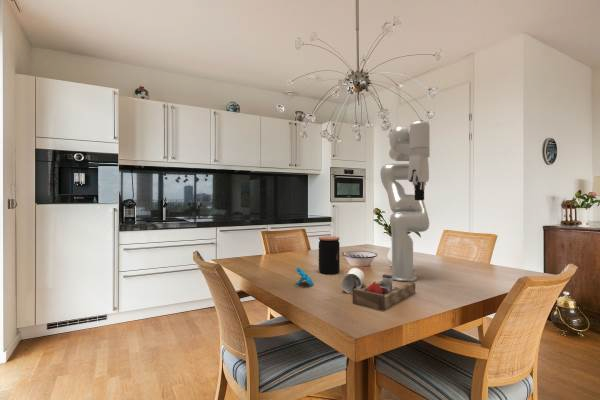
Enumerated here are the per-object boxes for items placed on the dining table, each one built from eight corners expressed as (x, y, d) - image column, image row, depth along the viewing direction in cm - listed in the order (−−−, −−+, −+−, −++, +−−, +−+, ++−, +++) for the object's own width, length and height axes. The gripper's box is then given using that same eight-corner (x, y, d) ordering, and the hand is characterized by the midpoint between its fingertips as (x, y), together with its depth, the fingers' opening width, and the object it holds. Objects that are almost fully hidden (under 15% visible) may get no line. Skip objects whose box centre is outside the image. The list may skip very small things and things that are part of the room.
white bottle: (366, 283, 147) (366, 265, 147) (361, 294, 129) (361, 274, 129) (349, 281, 149) (349, 264, 149) (341, 292, 131) (341, 273, 131)
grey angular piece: (386, 291, 133) (386, 271, 133) (403, 294, 128) (403, 273, 128) (369, 298, 123) (369, 277, 123) (387, 302, 118) (387, 280, 118)
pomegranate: (364, 301, 120) (364, 279, 120) (379, 300, 121) (379, 278, 121) (369, 306, 115) (369, 283, 115) (385, 305, 115) (385, 282, 115)
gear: (312, 284, 138) (296, 267, 140) (302, 294, 138) (286, 276, 140) (316, 281, 148) (301, 265, 151) (307, 290, 149) (292, 274, 151)
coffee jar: (340, 274, 163) (340, 238, 163) (319, 274, 163) (319, 238, 163) (338, 270, 173) (338, 236, 173) (318, 270, 173) (318, 236, 173)
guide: (388, 287, 139) (388, 275, 139) (415, 292, 131) (415, 280, 131) (352, 303, 118) (352, 289, 118) (382, 310, 110) (382, 295, 110)
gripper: (417, 156, 137) (417, 200, 137) (402, 152, 126) (402, 200, 126) (435, 154, 132) (435, 200, 132) (421, 150, 121) (421, 200, 121)
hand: (419, 200), depth 129 cm, fingers closed
